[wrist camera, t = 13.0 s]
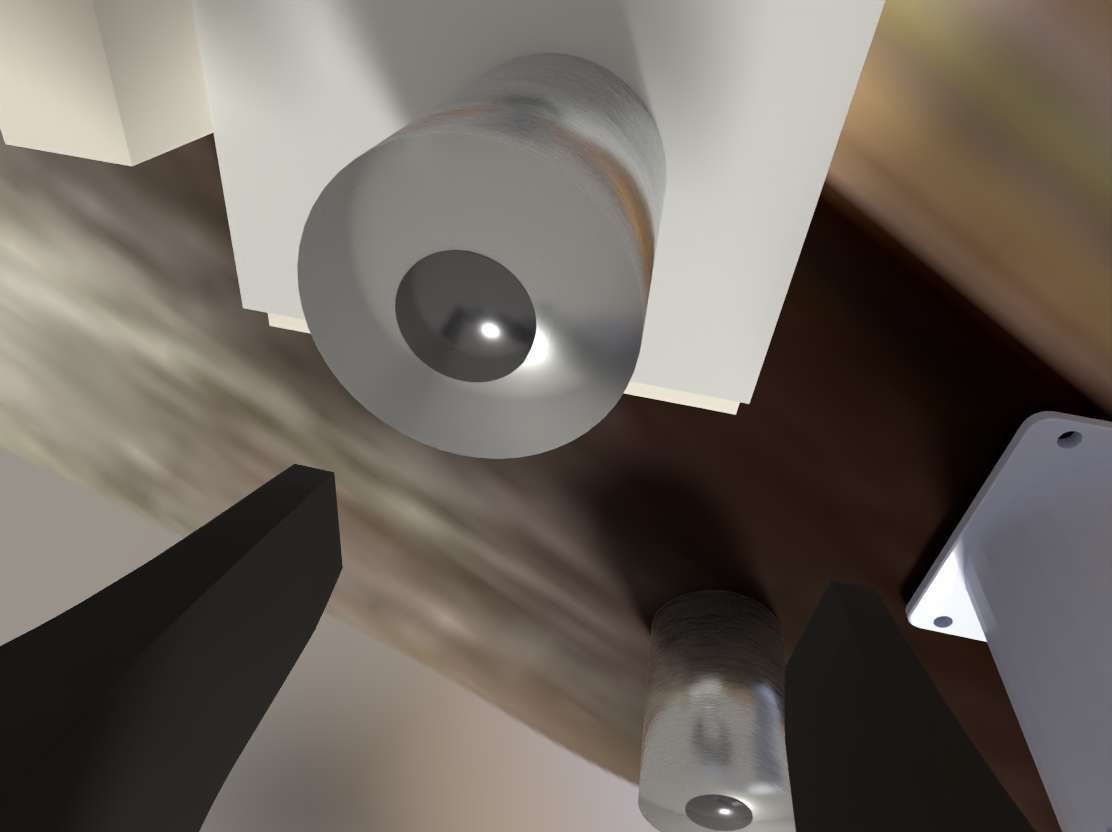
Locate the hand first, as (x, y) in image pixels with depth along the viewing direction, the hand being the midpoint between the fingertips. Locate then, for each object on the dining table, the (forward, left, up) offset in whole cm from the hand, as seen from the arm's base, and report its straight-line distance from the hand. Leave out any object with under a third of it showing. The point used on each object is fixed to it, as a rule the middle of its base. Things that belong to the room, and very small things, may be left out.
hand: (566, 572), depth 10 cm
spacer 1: (+2, -4, -7) cm, 8 cm away
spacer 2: (-5, +12, -9) cm, 16 cm away
